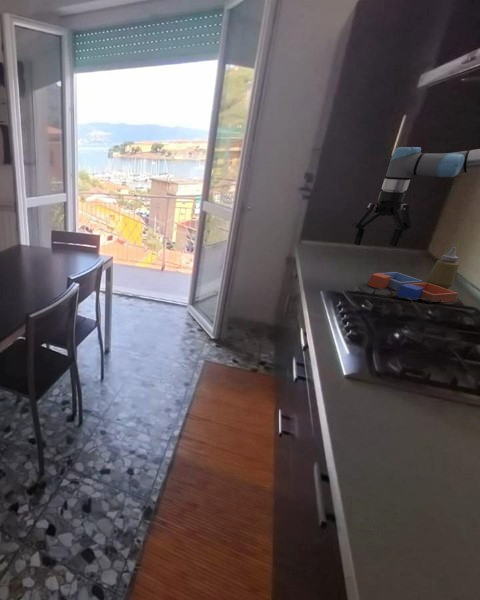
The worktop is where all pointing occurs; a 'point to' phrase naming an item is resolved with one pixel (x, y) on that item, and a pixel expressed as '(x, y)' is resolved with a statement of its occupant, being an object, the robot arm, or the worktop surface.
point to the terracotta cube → (379, 280)
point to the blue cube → (410, 291)
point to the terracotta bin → (436, 292)
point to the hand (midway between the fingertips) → (374, 245)
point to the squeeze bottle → (444, 270)
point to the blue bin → (400, 280)
